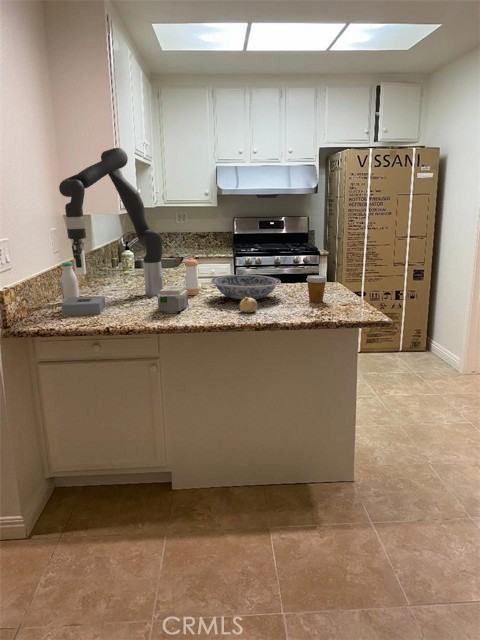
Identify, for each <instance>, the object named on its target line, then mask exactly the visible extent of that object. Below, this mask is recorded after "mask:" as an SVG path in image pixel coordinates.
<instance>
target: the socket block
mask: <svg viewBox="0 0 480 640" xmlns="http://www.w3.org/2000/svg"><path fill="white" fill-rule="evenodd" d="M105 308H106V296H105V295H100V296H98V295H97V296H79V297H72V298H68V299H67V300H66V301H65V302H64V303H62V304H61V313H62V317H72V316H73V317H74V316H75V317H76V316H77V317H78V316H95V315H101V314H102V313H103V311H104V310H105Z"/></svg>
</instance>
